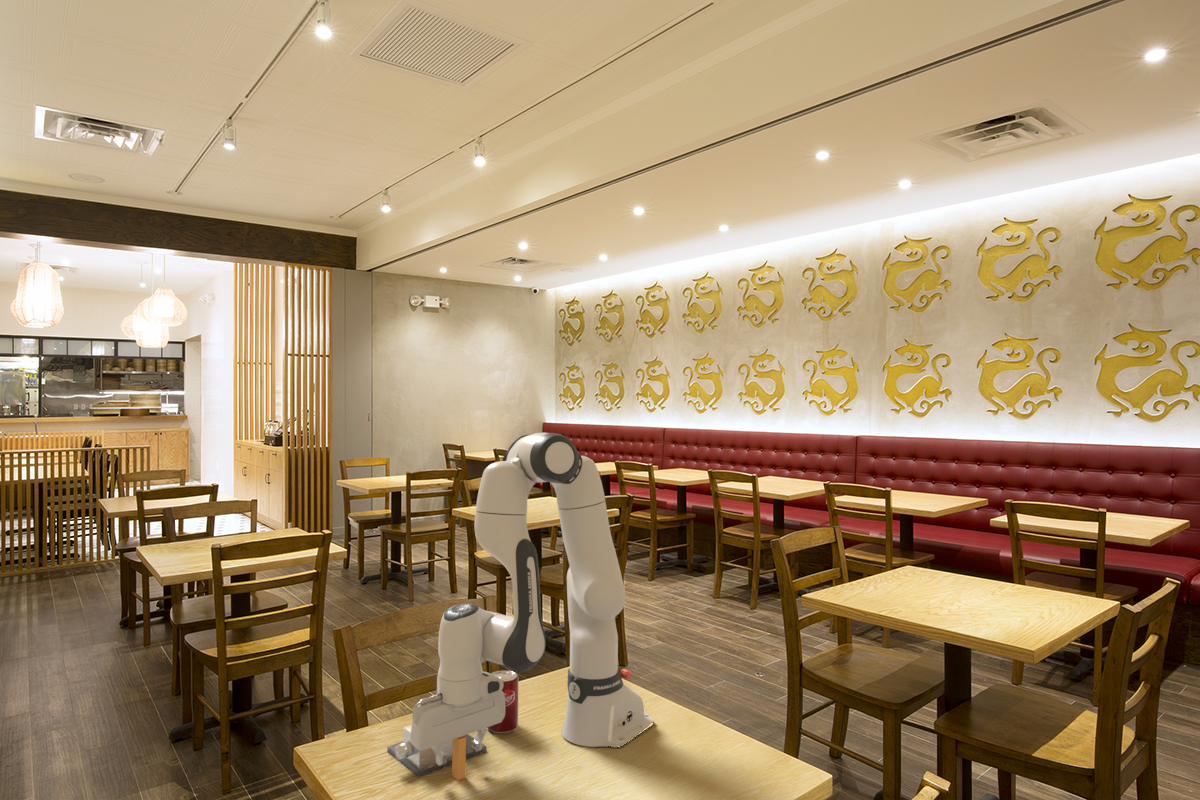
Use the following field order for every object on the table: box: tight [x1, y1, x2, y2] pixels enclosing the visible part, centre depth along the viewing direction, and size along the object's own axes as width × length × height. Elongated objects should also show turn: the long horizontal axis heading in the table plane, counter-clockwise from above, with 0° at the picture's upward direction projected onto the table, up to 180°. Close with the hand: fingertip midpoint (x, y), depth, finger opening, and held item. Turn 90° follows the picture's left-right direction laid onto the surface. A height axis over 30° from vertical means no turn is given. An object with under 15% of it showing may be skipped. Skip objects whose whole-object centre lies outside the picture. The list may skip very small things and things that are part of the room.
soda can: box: [487, 670, 519, 735], centre depth 161 cm, size 7×7×12 cm
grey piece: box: [387, 675, 488, 778], centre depth 150 cm, size 20×15×14 cm
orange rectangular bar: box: [451, 736, 467, 781], centre depth 139 cm, size 2×2×8 cm
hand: (459, 756), depth 140 cm, fingers open, 7 cm apart
